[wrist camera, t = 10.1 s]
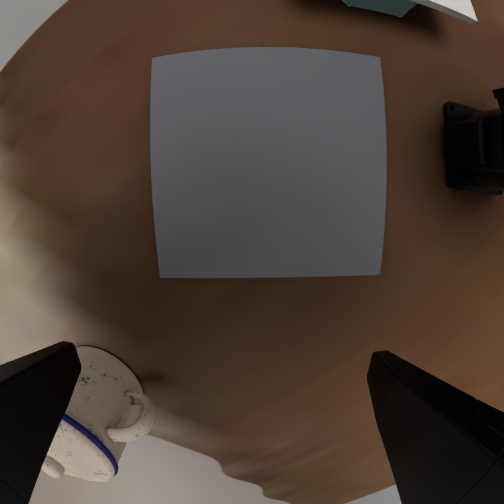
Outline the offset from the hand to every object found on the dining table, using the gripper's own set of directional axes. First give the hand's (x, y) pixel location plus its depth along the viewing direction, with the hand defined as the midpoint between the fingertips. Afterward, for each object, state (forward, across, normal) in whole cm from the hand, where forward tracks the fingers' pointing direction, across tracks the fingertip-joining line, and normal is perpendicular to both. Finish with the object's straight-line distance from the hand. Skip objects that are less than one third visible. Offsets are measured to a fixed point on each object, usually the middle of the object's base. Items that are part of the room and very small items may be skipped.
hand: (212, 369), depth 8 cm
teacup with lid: (+12, +12, +12) cm, 21 cm away
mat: (+12, -2, -6) cm, 14 cm away
